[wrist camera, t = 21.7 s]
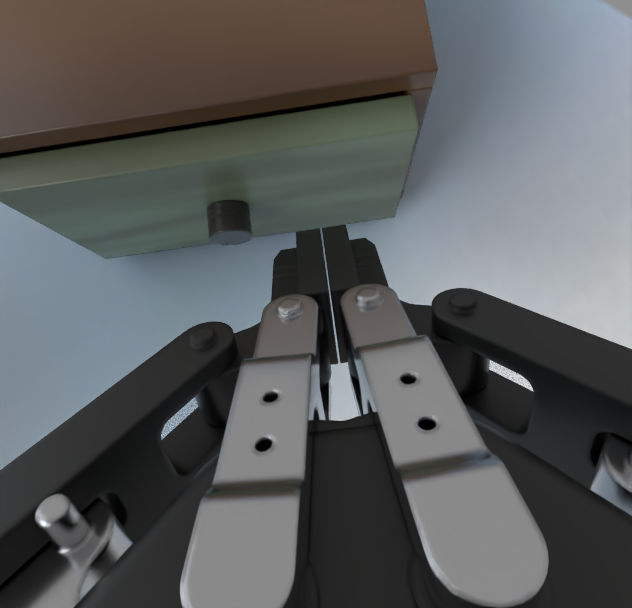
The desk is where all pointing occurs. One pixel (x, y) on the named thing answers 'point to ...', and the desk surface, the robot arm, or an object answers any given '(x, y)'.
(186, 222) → the drawer
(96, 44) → the cabinet
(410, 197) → the desk surface
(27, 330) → the desk surface
